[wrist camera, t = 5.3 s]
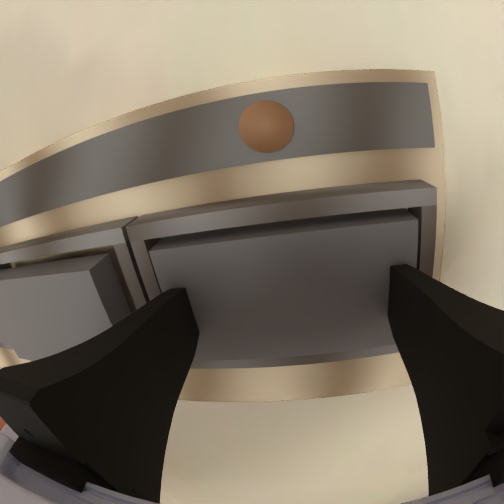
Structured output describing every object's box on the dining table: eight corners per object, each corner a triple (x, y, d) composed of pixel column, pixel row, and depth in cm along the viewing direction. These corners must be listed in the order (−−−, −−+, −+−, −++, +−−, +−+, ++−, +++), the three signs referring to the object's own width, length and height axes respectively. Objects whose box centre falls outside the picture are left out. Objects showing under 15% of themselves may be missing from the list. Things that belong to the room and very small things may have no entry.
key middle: (31, 343, 14) (18, 358, 13) (-4, 270, 12) (-21, 282, 11) (149, 353, 13) (137, 375, 11) (109, 253, 11) (88, 270, 10)
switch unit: (0, 357, 21) (-14, 373, 18) (-62, 216, 15) (-81, 227, 13) (413, 368, 15) (425, 401, 12) (421, 75, 9) (451, 66, 7)
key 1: (196, 338, 13) (187, 360, 12) (164, 235, 12) (148, 251, 10) (397, 320, 12) (407, 341, 10) (403, 206, 10) (418, 219, 9)
